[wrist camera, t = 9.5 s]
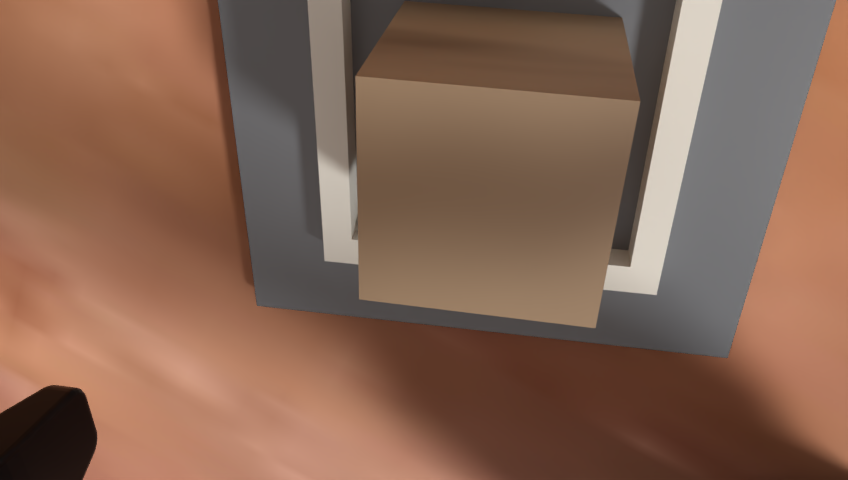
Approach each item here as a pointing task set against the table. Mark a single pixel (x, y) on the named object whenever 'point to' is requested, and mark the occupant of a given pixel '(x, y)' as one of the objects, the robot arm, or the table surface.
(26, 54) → the table surface
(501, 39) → the walnut block
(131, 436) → the table surface
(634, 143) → the square panel
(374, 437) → the table surface
